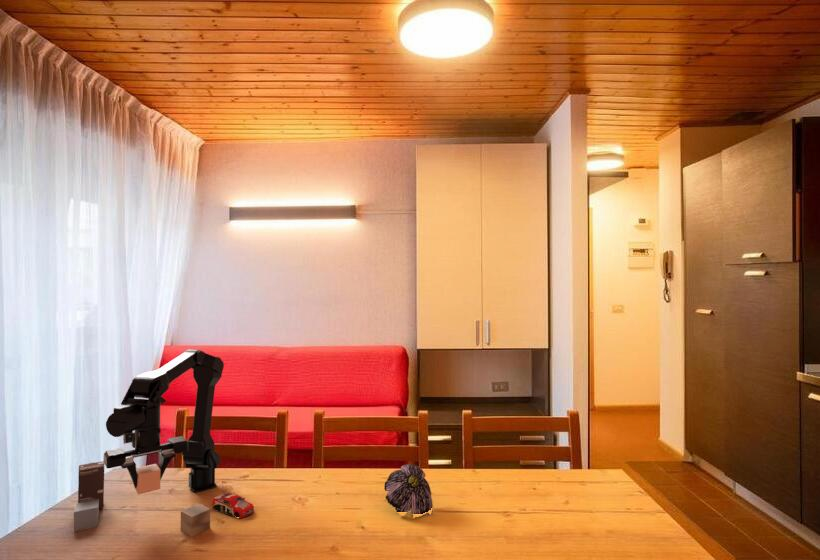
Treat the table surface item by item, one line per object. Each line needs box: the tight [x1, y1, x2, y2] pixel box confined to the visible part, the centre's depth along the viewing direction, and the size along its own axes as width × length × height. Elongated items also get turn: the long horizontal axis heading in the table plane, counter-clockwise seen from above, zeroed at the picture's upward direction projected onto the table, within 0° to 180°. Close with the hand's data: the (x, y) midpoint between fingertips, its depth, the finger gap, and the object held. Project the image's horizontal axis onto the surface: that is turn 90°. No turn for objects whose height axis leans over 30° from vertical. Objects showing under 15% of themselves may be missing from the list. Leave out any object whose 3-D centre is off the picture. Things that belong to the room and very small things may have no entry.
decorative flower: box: [383, 463, 434, 515], centre depth 134 cm, size 14×12×15 cm
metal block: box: [180, 503, 211, 537], centre depth 121 cm, size 5×5×5 cm
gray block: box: [73, 499, 100, 532], centre depth 123 cm, size 5×5×5 cm
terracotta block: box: [133, 463, 161, 496], centre depth 123 cm, size 5×5×5 cm
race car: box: [211, 492, 255, 519], centre depth 131 cm, size 13×5×4 cm, turn 61°
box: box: [77, 460, 105, 510], centre depth 131 cm, size 6×4×12 cm
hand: (147, 484), depth 123 cm, fingers closed on terracotta block, 5 cm apart
